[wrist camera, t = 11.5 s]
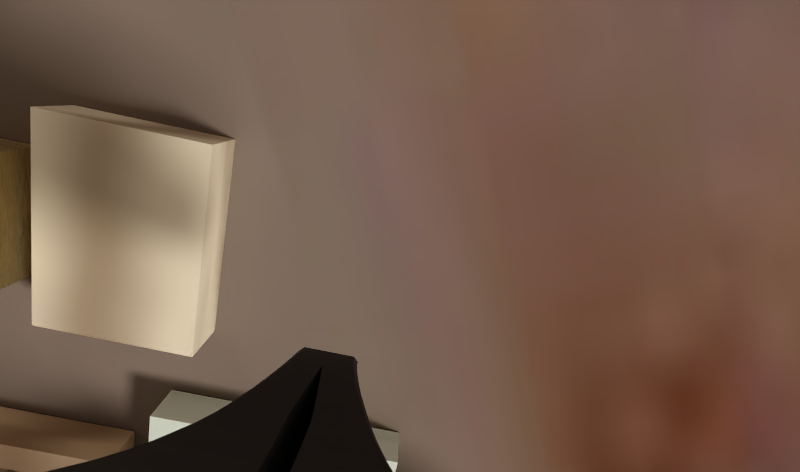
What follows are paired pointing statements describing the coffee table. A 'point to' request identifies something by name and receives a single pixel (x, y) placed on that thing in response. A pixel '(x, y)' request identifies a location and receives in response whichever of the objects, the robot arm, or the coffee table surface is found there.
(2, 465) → the socket block
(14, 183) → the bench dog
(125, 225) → the beige rectangular box
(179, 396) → the tray
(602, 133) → the coffee table surface
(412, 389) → the coffee table surface
